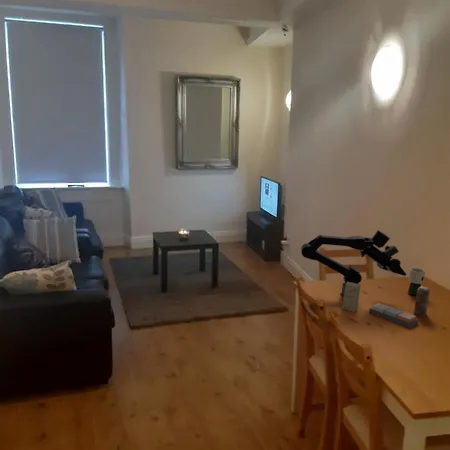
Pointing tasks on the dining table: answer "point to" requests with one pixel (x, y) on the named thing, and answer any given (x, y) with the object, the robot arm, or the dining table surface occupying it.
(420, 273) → the character mug
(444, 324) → the dining table surface
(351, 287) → the skincare box
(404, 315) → the terracotta key
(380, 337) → the dining table surface
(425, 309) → the walnut stylus post
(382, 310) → the key pad
